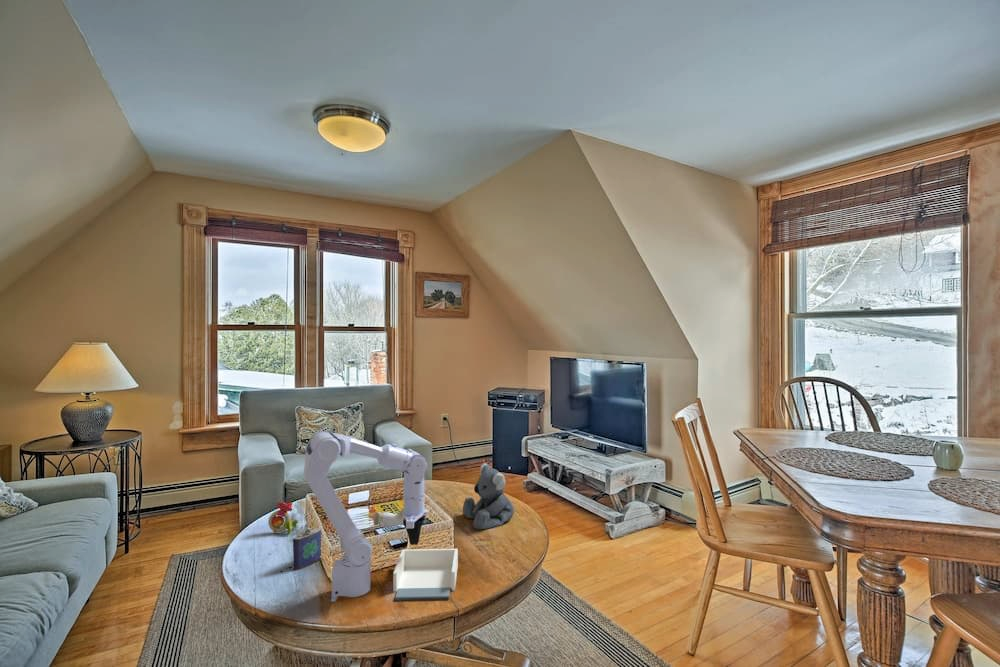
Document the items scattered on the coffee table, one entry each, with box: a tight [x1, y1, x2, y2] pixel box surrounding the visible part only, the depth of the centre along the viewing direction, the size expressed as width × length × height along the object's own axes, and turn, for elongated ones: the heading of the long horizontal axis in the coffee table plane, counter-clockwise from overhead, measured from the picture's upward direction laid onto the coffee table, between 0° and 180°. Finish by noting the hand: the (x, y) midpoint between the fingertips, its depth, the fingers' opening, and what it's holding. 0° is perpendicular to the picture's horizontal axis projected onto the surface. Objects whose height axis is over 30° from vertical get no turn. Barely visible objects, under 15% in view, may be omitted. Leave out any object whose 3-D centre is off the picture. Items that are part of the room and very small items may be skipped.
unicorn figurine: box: [372, 498, 431, 526], centre depth 153 cm, size 7×20×13 cm, turn 86°
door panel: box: [394, 587, 451, 602], centre depth 120 cm, size 14×1×5 cm
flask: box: [292, 526, 322, 571], centre depth 140 cm, size 9×3×11 cm, turn 148°
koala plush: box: [462, 462, 515, 530], centre depth 172 cm, size 17×18×20 cm
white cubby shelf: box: [392, 548, 459, 593], centre depth 129 cm, size 16×13×6 cm
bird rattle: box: [268, 501, 299, 535], centre depth 161 cm, size 6×11×9 cm
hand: (414, 543), depth 132 cm, fingers closed
